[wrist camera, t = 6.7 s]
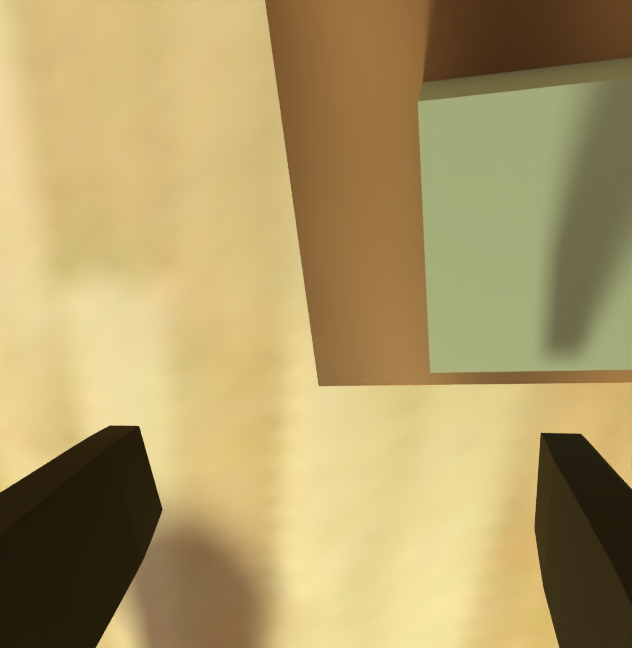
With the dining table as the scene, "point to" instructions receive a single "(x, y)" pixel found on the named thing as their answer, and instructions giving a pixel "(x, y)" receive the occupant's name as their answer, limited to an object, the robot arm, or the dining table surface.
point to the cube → (529, 219)
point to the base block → (398, 157)
